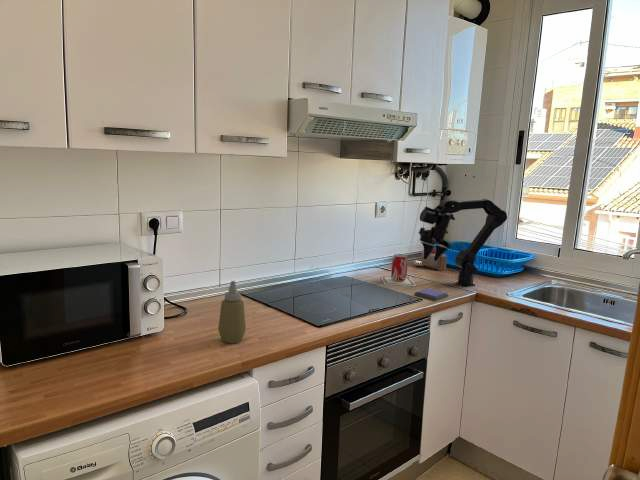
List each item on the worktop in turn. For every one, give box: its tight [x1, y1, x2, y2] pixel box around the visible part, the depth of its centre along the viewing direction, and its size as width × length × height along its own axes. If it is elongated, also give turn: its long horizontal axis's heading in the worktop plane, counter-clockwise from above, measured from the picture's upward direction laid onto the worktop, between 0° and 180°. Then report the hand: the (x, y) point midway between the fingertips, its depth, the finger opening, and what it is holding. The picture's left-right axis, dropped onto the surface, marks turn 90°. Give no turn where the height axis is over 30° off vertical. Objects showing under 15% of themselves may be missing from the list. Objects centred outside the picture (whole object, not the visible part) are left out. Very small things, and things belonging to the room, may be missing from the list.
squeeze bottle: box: [217, 280, 247, 344], centre depth 138 cm, size 8×8×18 cm
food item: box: [420, 249, 448, 272], centre depth 251 cm, size 14×8×10 cm, turn 37°
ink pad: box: [414, 287, 449, 302], centre depth 197 cm, size 10×10×2 cm
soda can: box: [390, 253, 409, 282], centre depth 217 cm, size 7×7×12 cm
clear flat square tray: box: [380, 275, 417, 287], centre depth 218 cm, size 14×14×1 cm
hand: (430, 259), depth 213 cm, fingers open, 9 cm apart
